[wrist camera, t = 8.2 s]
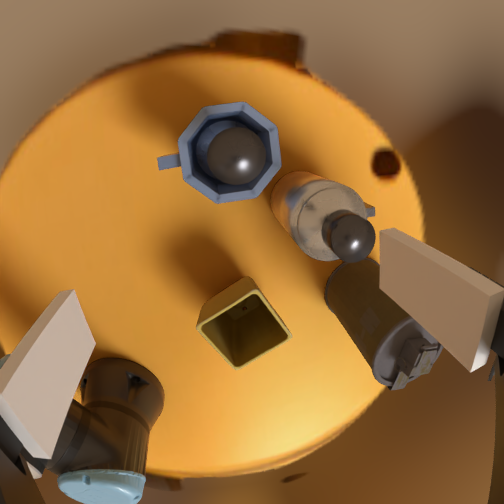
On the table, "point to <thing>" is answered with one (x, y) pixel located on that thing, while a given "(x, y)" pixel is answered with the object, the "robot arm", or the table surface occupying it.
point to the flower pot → (241, 324)
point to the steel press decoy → (323, 217)
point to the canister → (380, 325)
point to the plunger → (230, 152)
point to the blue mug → (215, 187)
